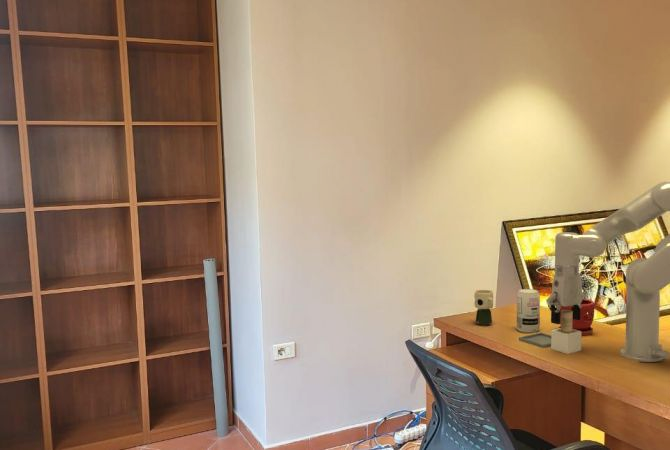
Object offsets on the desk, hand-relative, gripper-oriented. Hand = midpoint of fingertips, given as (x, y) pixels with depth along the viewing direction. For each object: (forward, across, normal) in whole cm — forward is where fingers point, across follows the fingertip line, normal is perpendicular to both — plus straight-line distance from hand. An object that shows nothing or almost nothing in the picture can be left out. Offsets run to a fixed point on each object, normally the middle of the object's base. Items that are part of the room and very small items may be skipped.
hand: (565, 321), depth 208 cm
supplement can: (+10, +9, +25) cm, 28 cm away
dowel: (+10, 0, 0) cm, 10 cm away
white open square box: (+10, 0, 0) cm, 10 cm away
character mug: (+11, +2, +41) cm, 42 cm away
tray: (+10, +1, +11) cm, 15 cm away
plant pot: (+10, +20, +13) cm, 26 cm away
